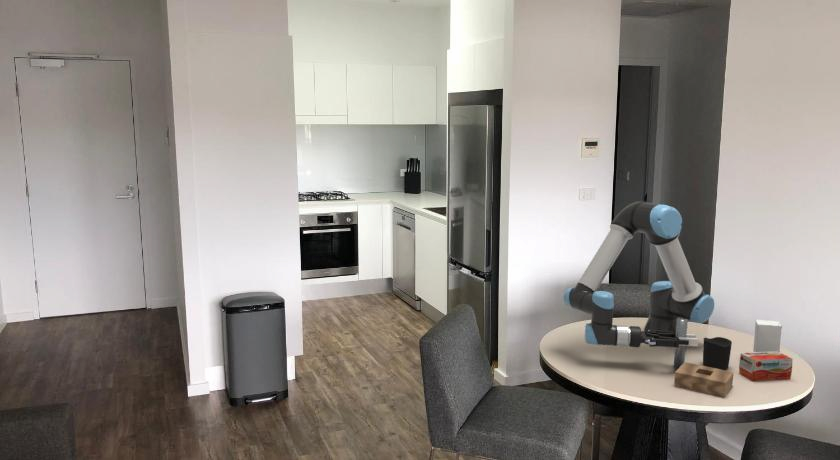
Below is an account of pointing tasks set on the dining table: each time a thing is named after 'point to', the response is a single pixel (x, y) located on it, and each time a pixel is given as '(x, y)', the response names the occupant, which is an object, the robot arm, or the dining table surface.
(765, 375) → the medicine box
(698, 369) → the socket block
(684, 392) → the dining table surface
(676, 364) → the pin
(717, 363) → the pen holder
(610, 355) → the dining table surface
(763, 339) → the skincare box
